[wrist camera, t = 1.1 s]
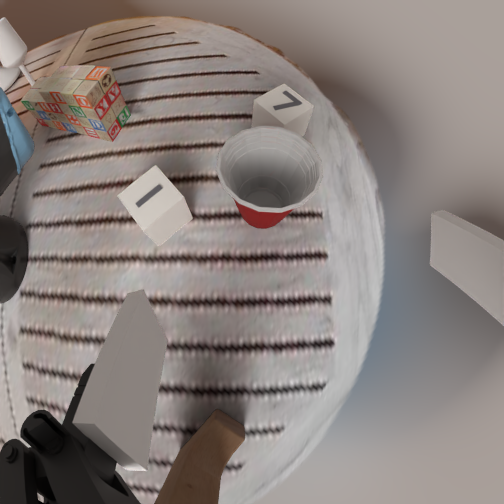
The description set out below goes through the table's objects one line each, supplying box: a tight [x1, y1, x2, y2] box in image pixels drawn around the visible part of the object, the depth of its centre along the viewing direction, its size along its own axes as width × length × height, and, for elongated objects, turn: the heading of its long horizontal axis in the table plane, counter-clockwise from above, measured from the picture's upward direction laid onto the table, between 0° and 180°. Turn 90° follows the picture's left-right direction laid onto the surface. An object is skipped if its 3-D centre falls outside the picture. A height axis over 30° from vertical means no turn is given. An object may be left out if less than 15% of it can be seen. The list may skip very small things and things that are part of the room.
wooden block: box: [154, 409, 245, 504], centre depth 23 cm, size 9×4×18 cm, turn 143°
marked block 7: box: [252, 84, 314, 136], centre depth 39 cm, size 6×6×7 cm
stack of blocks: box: [21, 65, 131, 142], centre depth 36 cm, size 21×6×12 cm, turn 70°
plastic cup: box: [216, 126, 323, 229], centre depth 33 cm, size 11×11×12 cm
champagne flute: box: [0, 17, 35, 86], centre depth 33 cm, size 7×7×24 cm
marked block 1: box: [118, 165, 193, 246], centre depth 35 cm, size 6×6×7 cm
